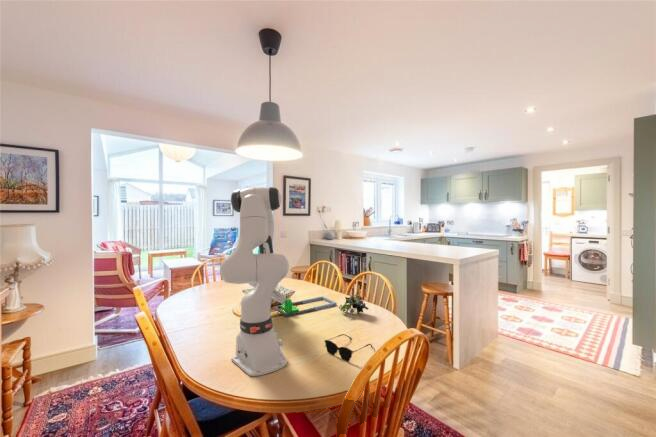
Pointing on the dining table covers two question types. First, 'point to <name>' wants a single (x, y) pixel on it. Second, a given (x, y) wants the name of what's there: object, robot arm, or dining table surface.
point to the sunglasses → (340, 349)
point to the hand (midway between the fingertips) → (283, 302)
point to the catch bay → (321, 305)
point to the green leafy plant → (353, 304)
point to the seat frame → (293, 312)
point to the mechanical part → (288, 307)
